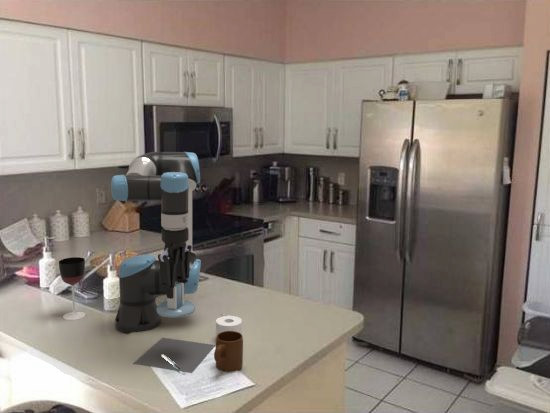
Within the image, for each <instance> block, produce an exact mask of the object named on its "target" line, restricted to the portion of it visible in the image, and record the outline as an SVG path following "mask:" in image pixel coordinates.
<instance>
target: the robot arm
mask: <svg viewBox="0 0 550 413" xmlns="http://www.w3.org/2000/svg"><path fill="white" fill-rule="evenodd" d="M110 183H111V184H110V185H111V186H110V190H111V191H110V193H111V196H112V199H113V200H114V201H122V202H132V201H133V202H134V201H135V202H137V201H138V202H142V201H143V202H144V201H145V202H148V201H150V202H151V201H152V202H153V201H154V202H161V214H160V217H161V218H160V219H161V221H160V223H161V224H160V225H161V227H162V228H161V242H163V243H164V248H163V252H162V253H161V254H160V253H159V254H157V259H156V256H155V255H154V254H153V255H152V254H140V255H139V254H138V255H135V256H134V255H133V256H131V257H127V258H126V259H124V260H122V261H121V262H120V263H119V268H118V270H119V271H118V279H119V281H118V282H119V307H118V309H117V312H116V316H115V319H114V328H115V329H116V330H117V331H119V332H121V333H125V334H131V333H142V332H147V331H151V330H154V329H156V328H157V327H159V326H160V325H161V324H162V316H161V315H159V314H158V313H157V306H158V304H157V296H166V301H167V308H171V309H177V287H174V286H175V282H179V283H181V305H184V300H185V295H192V294H195V293H197V291H198V287H199V282H200V273H201V266H202V261H201V259H199V258H198V256H197V253H196V252H195V251H194V250H193V191H195V190H196V188H197V184H200V183H201V172H200V162H199V158H198V156H197V154H196V153H195V152H189V151H188V152H187V151H183V152H182V151H181V152H180V151H152V152H148V153H143V154H141V155H138V156H137V157H135V158H134V159H133V160H132V161H131V162H130V164H129V166H128V171H127V172H126V174H117V175H114V176H112V178H111V182H110Z"/></svg>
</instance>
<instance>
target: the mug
mask: <svg viewBox="0 0 550 413" xmlns="http://www.w3.org/2000/svg"><path fill="white" fill-rule="evenodd" d="M215 345H216V346H215V349H214V354H213V358H214V361H215V367H216V368H217V370H219V371H220V372H225V373H226V372H227V373H229V372H231V373H232V372H238V371H240V370H241V369H242V368H243V362H244V361H243V360H244V359H243V358H244V357H243V356H244V338H243V333H242V334H241V333H239V332H235V331H224V332H221V333H219V334H218V335H217V337H216V336H215Z"/></svg>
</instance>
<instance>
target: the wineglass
mask: <svg viewBox="0 0 550 413" xmlns="http://www.w3.org/2000/svg"><path fill="white" fill-rule="evenodd" d="M85 260H86V259H85V258H84V257H80V256H78V257H73V256H72V257H66V258H63V259H60V260H59V261H58V268H59V274H60V278H61V281H63V282H64V283H66V284H67V285H71V298H72V312H71V311H70V312H67V313H65V314H63V315H62V318H63V319H64V320H67V321H75V320H79V319H82V318H84V317H86V315H87V314H86V312H83V311H76V298H75V296H76V295H75V294H76V293H75V285H76V284H78V283H79V282H81V280H83V278H84V275H85V267H86V263H85V262H86V261H85Z"/></svg>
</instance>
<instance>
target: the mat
mask: <svg viewBox="0 0 550 413" xmlns="http://www.w3.org/2000/svg"><path fill="white" fill-rule="evenodd" d="M214 348H216V344H209V343H203V342H195V341H191V340H181V339H177V338H176V339H175V338H170V337H169V338H168V337H161V338H160V339H159V340H158V341H157V342H156V343H154V344H153V345H152V346H151V347H150V348H148V350H146V351H145V352H144V353H143V354H142V355H141V356H139V358H137V359H136V360H135V361H134V362H133V363H132V365H140V366H145V367H152V368H158V369H163V370H170V371H176V372H183V373H188V374H192V373H193V372H194V371H196V369H197V367H199V366H200V364H201V363H202V362H203V361H204V359H206V358H207V356H209V354H210V353H211V351H212V350H213V349H214ZM161 354H164V355H166V356H167V357H169V358H170V359H171V360H172V361H174V362H175V363H176V364H177V365H178V367H179V368H180V369H176V368H174V367H173V365H172V364H170V363H169V362H168V361H166V360H165V359H164V358H162V357H161Z"/></svg>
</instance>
